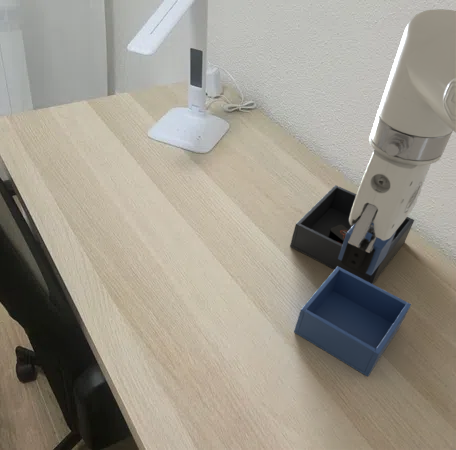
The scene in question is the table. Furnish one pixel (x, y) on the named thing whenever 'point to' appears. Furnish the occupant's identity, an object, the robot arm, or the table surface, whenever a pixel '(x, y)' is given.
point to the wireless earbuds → (338, 233)
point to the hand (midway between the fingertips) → (362, 255)
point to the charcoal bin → (331, 217)
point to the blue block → (380, 248)
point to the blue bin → (351, 319)
